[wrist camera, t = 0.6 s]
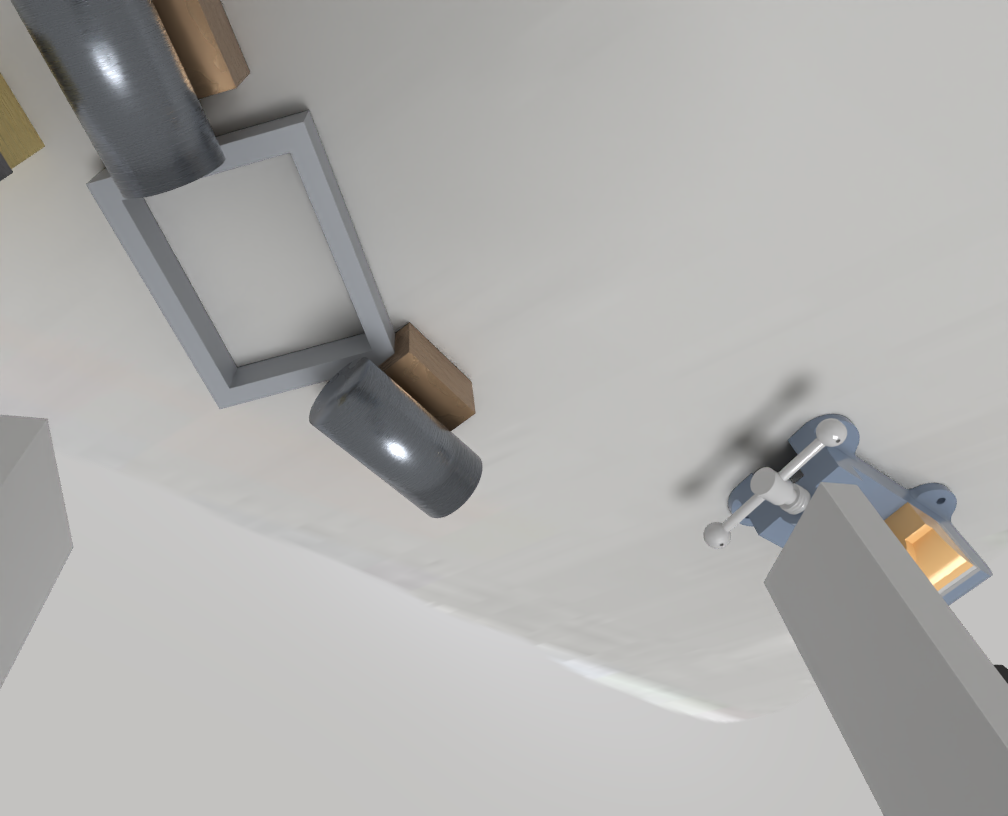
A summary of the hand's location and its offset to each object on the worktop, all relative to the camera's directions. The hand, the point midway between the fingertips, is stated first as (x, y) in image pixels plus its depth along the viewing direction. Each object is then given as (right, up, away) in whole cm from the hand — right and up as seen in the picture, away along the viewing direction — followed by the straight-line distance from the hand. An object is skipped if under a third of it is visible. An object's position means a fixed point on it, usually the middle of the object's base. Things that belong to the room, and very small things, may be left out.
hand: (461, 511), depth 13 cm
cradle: (-11, +9, +22) cm, 26 cm away
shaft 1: (-13, +17, +16) cm, 27 cm away
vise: (+22, -4, +36) cm, 42 cm away
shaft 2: (-5, +3, +27) cm, 28 cm away
